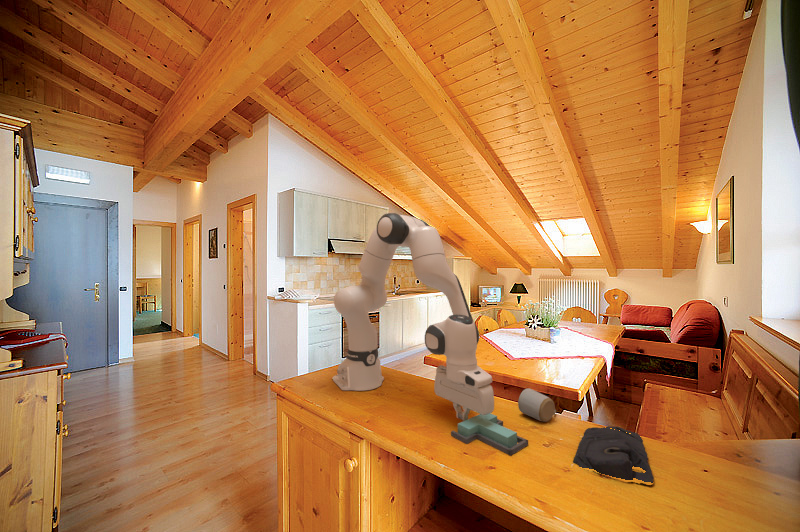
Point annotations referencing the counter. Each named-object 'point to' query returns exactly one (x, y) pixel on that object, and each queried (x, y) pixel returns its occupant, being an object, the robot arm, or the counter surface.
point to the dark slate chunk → (613, 453)
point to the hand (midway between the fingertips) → (462, 419)
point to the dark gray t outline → (492, 443)
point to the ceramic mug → (536, 405)
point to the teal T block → (488, 429)
